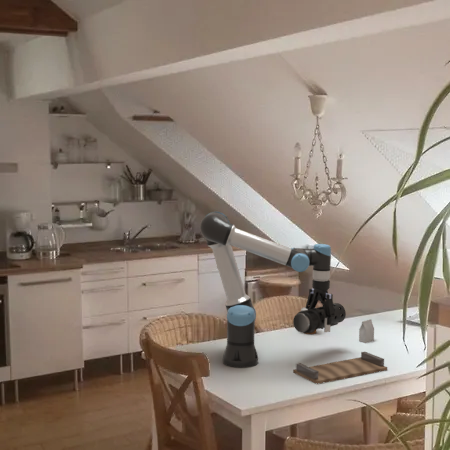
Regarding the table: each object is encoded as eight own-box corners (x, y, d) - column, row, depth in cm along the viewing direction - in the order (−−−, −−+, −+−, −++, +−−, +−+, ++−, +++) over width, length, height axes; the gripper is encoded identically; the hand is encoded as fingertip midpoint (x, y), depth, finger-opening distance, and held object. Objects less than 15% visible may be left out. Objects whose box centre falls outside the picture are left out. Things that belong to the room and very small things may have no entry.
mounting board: (317, 384, 266) (317, 373, 265) (293, 372, 280) (293, 362, 279) (387, 370, 283) (387, 360, 283) (361, 359, 297) (361, 350, 297)
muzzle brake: (345, 326, 309) (346, 304, 308) (309, 338, 289) (309, 314, 288) (328, 322, 316) (329, 300, 315) (291, 333, 295) (291, 310, 294)
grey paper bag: (373, 340, 328) (374, 320, 327) (365, 343, 323) (366, 322, 322) (367, 338, 331) (367, 318, 330) (359, 341, 326) (359, 320, 325)
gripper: (344, 283, 292) (342, 334, 294) (312, 274, 312) (310, 321, 314) (330, 285, 288) (328, 336, 290) (298, 275, 308) (297, 323, 310)
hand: (319, 328), depth 302 cm, fingers closed on muzzle brake, 11 cm apart
